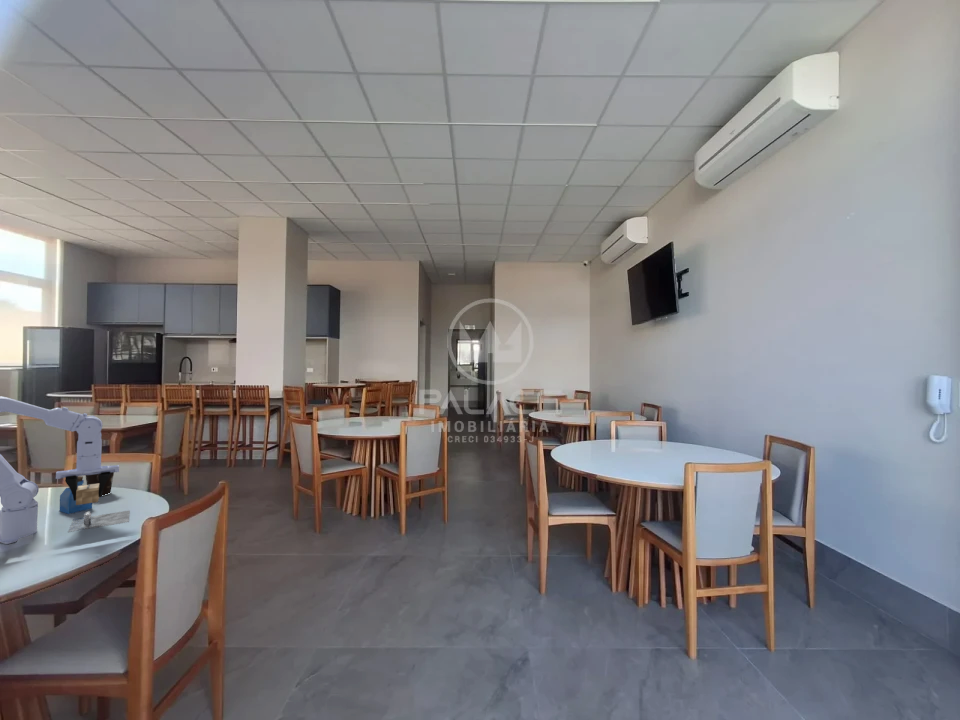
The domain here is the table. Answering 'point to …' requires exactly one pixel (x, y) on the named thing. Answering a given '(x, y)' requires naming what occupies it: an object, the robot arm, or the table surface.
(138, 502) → the table surface
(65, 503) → the perfume bottle
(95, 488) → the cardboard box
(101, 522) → the hub plate
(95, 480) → the coffee mug
